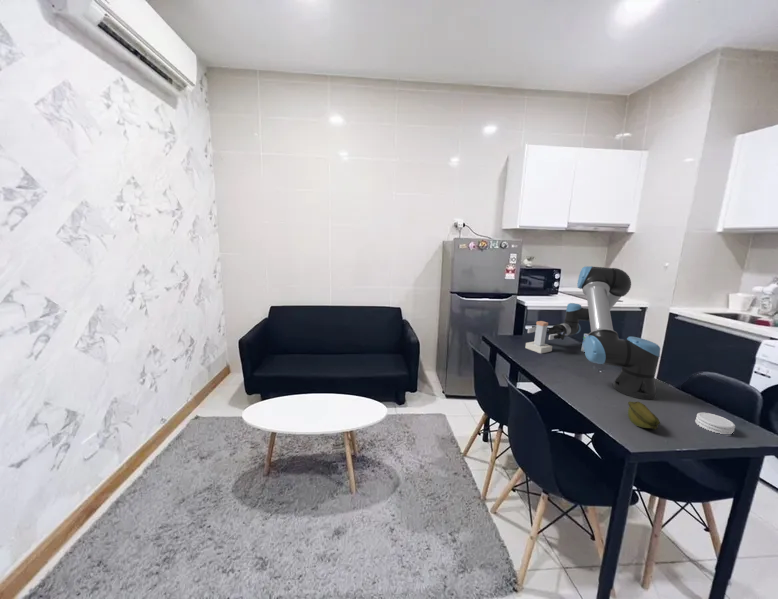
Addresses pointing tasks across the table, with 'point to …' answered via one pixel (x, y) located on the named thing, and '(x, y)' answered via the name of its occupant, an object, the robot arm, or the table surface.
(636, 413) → the fruit
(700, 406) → the table surface
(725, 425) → the white ridged lid
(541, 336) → the plug
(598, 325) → the robot arm
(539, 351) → the white square base
